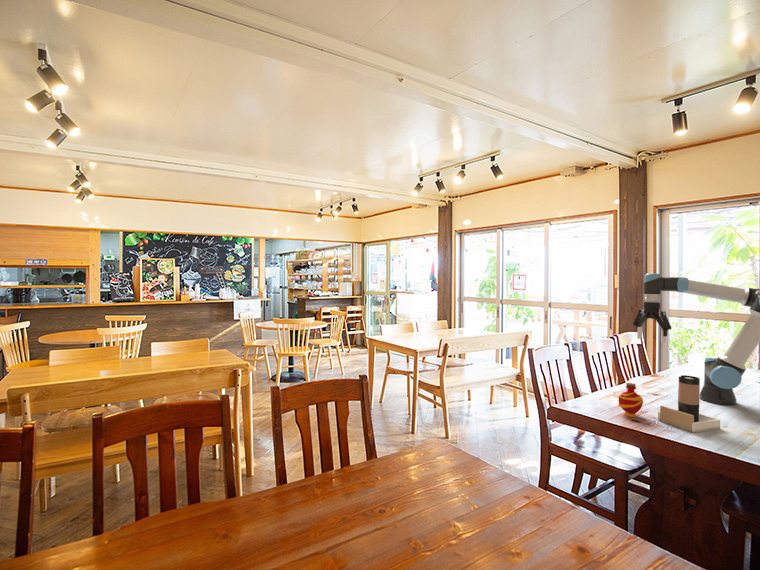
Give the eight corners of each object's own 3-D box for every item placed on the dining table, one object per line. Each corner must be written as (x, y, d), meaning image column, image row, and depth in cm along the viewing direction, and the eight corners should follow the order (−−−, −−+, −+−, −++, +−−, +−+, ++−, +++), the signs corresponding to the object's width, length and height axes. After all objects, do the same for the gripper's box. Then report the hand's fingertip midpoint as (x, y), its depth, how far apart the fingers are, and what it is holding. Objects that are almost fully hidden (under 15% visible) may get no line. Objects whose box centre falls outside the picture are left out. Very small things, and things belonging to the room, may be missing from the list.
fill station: (682, 416, 190) (682, 402, 190) (720, 428, 175) (720, 412, 175) (657, 420, 185) (658, 405, 185) (694, 433, 170) (694, 416, 170)
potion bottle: (635, 420, 185) (635, 388, 185) (613, 413, 194) (613, 382, 194) (648, 416, 190) (648, 385, 189) (626, 410, 199) (626, 380, 199)
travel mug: (702, 425, 176) (703, 379, 175) (683, 423, 177) (684, 378, 177) (693, 419, 183) (693, 375, 183) (674, 417, 185) (675, 374, 184)
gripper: (626, 300, 230) (625, 337, 230) (669, 303, 206) (668, 344, 207) (636, 300, 232) (635, 336, 233) (680, 303, 209) (679, 343, 209)
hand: (651, 340), depth 220 cm, fingers open, 13 cm apart
